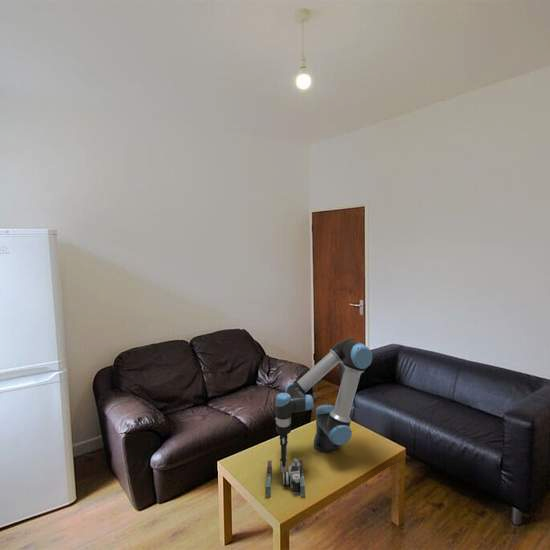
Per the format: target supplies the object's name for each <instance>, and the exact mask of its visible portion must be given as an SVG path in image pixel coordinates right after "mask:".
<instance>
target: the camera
mask: <svg viewBox="0 0 550 550" xmlns="http://www.w3.org/2000/svg"><path fill="white" fill-rule="evenodd" d="M299 460H300V459H298V458H296V457H294V458H293V459H292V460H291V465H288V471H287V472H285V471H284V472H282V474H283V477H282V478H283V485H284V486H290V487H289V488H290V489H292V493H293V494H295V495H299V494H301V492H300V474H301V466H300V462H299Z"/></svg>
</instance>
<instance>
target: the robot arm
mask: <svg viewBox="0 0 550 550" xmlns="http://www.w3.org/2000/svg"><path fill="white" fill-rule="evenodd" d="M372 361H373V353H372V351H371V349H370V348H369V347H368V346H366V345H365V344H364V343H362V342H360V341H357V340H356V339H354V338H344V339H343V340H341V341H339V342H338V343H336V344H334V346H333V347H331V348H330V349H329V352H328V353H327V354H325V356H324V357H323V358H321V360H319V361H318V362H317V363H316V364H315V365H314V366H312V367H311V368H310V369H309V370H308V371H307V372H306V373H305V374H304V375H302V376H301V377H300V378H299V379H298V380H297V381H296V382H295V383H289V384H287V385H286V387H285V389H284V391H285V392H280V393H277V395H276V396H275V417H274V420H275V424H276V425H275V431H276V433H277V434H278V435H279V444H280V445H279V446H280V459H279V461H280V472H281V473H283V472H284V471H285V472H288V471H287V470H288V469H287V456H288V455H287V454H288V453H287V451H288V450H287V449H288V447H287V446H288V443H289V442H288V434H290V433H291V431H292V426H291V425H292V416H291V414H292V413H297V412H306V411H310V410H311V411H312V409H313V408H314V398H313V396H312V394H306V393H307V392H308V391H309V390H310V389H311V388H313V387H314V385H316V384H317V383H318V382H319V381H320V380H321V379H322V378H323V377H325V376H326V375H327V374H328V373H330V371H332V369H334V368H335V367H337V365H338V364H340V363H341V364H342V363H343V364H342V365H343V367H344V371H343V374H342V378H341V381H340V385H339V390H338V394H337V396H336V400H335V403H334V405H331V404H322V405H319V406H317V407H316V409H315V426H316V427H315V429H316V433H315V435H314V438H313V448H314V449H315V450H316V451H317V452H318V451H319V452H320V453H325V454H331V453H335V452H337V451H339V450H340V449H341V446H343V445H346V443H348V442H349V441H350V440H351V438H352V435H353V433H352V429H351V428H350V425H351V422H352V419H351V417H350V414H351V411H352V407H353V403H354V400H355V396H356V392H357V389H358V385H359V382H360V378H361V375H362V373H364V372H365V370H366V369H367V368H368V367H369V366H371V363H372Z"/></svg>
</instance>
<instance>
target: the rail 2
mask: <svg viewBox="0 0 550 550" xmlns="http://www.w3.org/2000/svg"><path fill="white" fill-rule="evenodd" d="M298 460H299V462H300V466H301V474H300V497H306V483H305V474H304V462H303V461H304V460H303V459H298Z"/></svg>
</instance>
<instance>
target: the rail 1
mask: <svg viewBox="0 0 550 550" xmlns="http://www.w3.org/2000/svg"><path fill="white" fill-rule="evenodd" d="M272 463H273V461H272V460H271V459H270V460H267V466H266V467H267V468H266V480H265V481H266V484H265V494H266V498H271V497H272V479H273V478H272V477H273V475H272V474H273V465H272Z"/></svg>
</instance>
